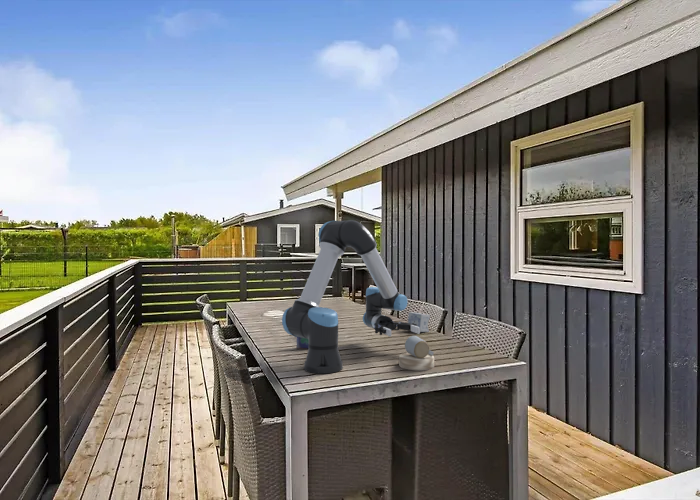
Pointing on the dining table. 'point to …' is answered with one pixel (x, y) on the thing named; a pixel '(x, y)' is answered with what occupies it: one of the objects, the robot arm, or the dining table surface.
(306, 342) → the flask
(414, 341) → the ceramic mug
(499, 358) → the dining table surface
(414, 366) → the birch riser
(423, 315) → the incense holder
